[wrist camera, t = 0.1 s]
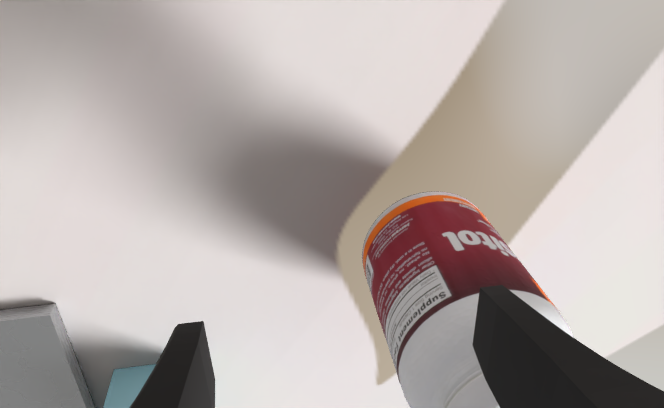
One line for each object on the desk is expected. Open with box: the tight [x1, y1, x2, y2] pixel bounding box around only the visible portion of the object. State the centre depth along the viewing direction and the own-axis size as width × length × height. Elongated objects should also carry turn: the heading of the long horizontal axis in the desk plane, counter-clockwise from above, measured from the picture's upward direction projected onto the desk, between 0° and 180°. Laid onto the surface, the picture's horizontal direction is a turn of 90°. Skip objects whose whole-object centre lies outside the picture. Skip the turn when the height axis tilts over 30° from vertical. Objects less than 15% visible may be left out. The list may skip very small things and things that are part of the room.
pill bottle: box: [362, 192, 574, 408], centre depth 20 cm, size 6×6×11 cm
